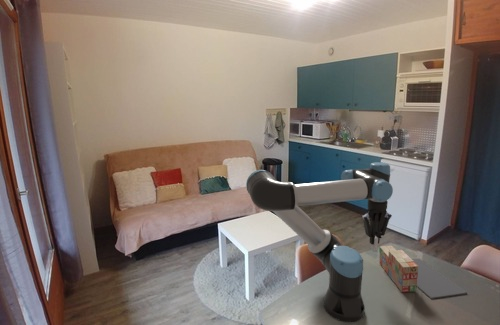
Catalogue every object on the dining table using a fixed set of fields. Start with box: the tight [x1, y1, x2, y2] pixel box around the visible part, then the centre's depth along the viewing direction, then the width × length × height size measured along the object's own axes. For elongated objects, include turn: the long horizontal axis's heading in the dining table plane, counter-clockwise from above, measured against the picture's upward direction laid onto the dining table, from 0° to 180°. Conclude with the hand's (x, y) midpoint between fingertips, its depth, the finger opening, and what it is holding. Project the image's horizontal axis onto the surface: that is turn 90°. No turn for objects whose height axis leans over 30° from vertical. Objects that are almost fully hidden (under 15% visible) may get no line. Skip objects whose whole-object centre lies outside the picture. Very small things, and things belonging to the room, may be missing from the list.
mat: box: [411, 258, 468, 300], centre depth 124 cm, size 17×26×1 cm, turn 9°
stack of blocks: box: [378, 245, 418, 293], centre depth 123 cm, size 21×6×12 cm, turn 179°
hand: (373, 250), depth 119 cm, fingers closed
